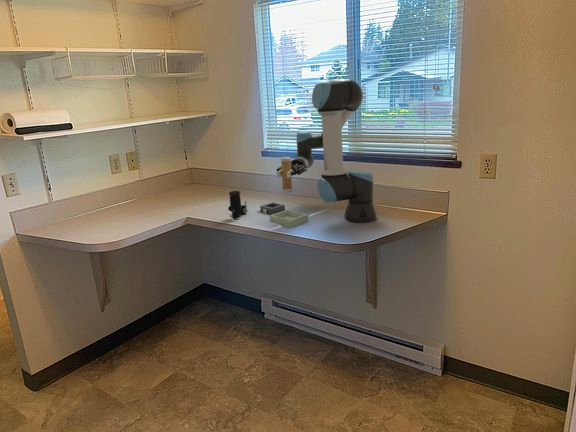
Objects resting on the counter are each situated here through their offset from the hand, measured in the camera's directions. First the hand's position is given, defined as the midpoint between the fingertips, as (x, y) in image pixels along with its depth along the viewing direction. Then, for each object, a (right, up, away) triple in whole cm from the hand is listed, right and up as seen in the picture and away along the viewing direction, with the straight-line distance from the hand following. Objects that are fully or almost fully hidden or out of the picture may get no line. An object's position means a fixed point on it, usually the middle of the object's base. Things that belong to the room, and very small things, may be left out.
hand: (282, 175), depth 203 cm
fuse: (+2, -7, +7) cm, 10 cm away
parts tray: (+3, -22, +12) cm, 25 cm away
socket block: (-5, -17, +28) cm, 33 cm away
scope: (-23, -20, +22) cm, 38 cm away
